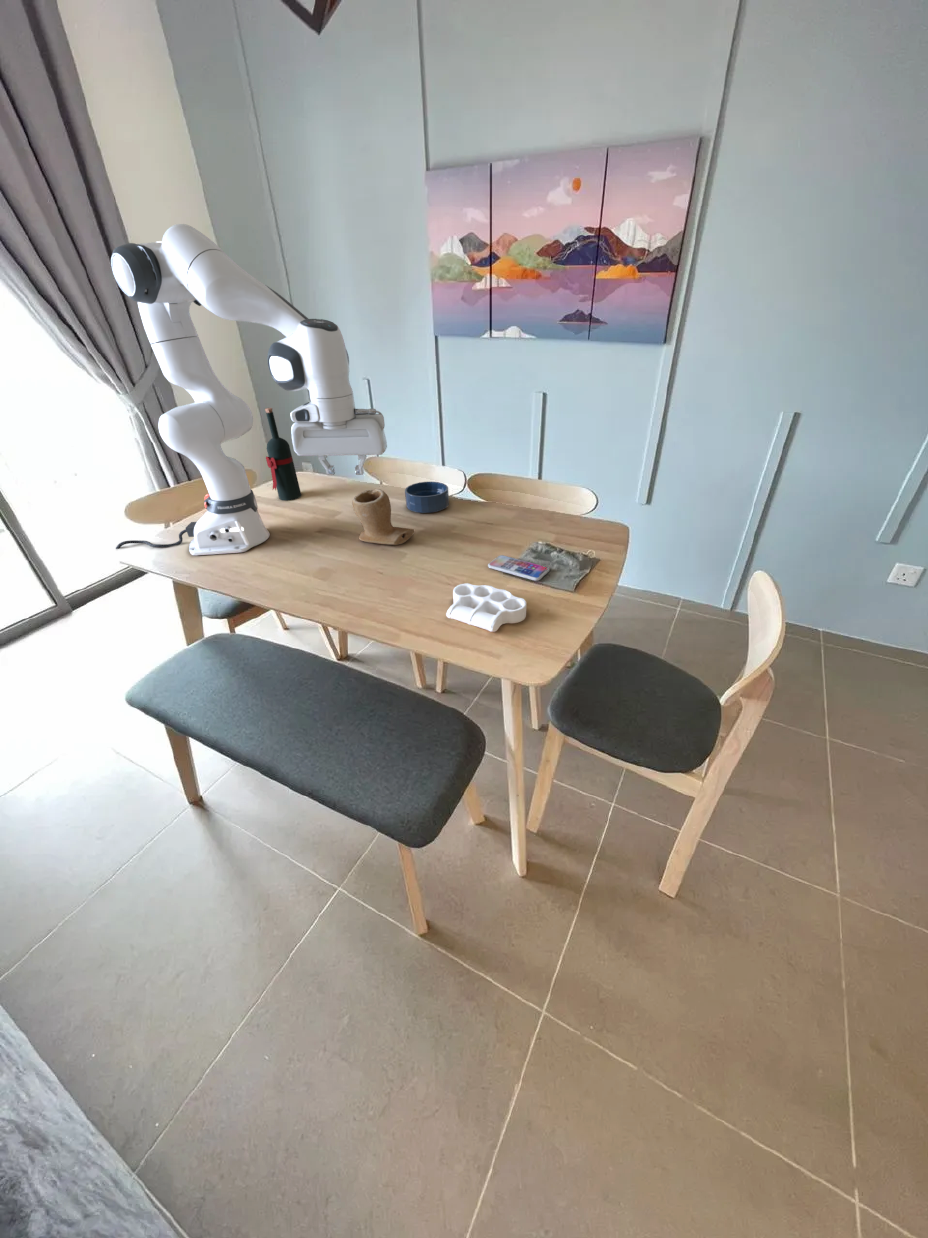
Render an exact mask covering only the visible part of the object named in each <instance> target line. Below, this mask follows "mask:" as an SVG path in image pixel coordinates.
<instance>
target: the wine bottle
mask: <svg viewBox="0 0 928 1238" xmlns="http://www.w3.org/2000/svg"><path fill="white" fill-rule="evenodd" d="M264 411H265V415H266V418H267V422H268V426H269V430H270V434H271V438H270V439H269V440H268V442H267V444H266V453H267V456H265V461H266V465H267V467H268V469H270V473H271V480H272V490H275V491H276V492H277V495H278V500H281V501H283V502H284V501H289V502H290V501H294V500H297V499H300V498H301V497H302V492H301V488H300V484H299V480H298V476H297V475H298V474H297V472H296V467H295V462H294V459H293V455H292V450H291V446H290V443H289V442H288V441H287V440H286V439H284V438H283V437H280V435H279V431H278V427H277V423H276V419H275V415H274V414H275V413H274V411H273V407H266V408H264Z"/></svg>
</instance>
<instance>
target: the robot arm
mask: <svg viewBox="0 0 928 1238" xmlns="http://www.w3.org/2000/svg"><path fill="white" fill-rule="evenodd" d="M110 266H111V270H112V274H113V276H114V279H115V281H116V283H117V285H118V287H119V288H120V290H121V291H122V292H123V293H124V294H125V295H126V296H127V298H129V299H130V300H131V301H133V302H136V303H137V307H138V312H139V315H140V319H141V322H142V325H143V329H144V332H145V334H146V337H147V339H148V341H149V344H150V346H151V349H152V351H153V354H154V356H155V358H156V360H157V363H158V366H159V367H160V370H161V372H162V375H163V376H164V378H165V379H166V380H167V381H168V383H170V384H173V385H174V386H176V387H180V388H182V389H184V390H185V391H186V392H187V393H188V394H189V395H190V396H191V398H192V399H193V401H194V402H192V403H191V402H190V403H187V404H183V405H178V406H175V407H174V408H172V409H170V410H168V411H166V412H164V413H162V414H161V415H160V416H159V418H158V424H157V425H158V426H157V427H158V433H159V435H160V437H161V439H162V440H163V442H164V443H165V444H166V445H167V447H169V448H170V449H171V450H173V451H175V452H176V453H178V454H181V455H183V456H185V457H186V458H187V459H188V460H190V461H191V462H192V464H193V465H194V466H195V467H196V468H197V470H198V471H199V473H200V475H201V477H202V479H203V482H204V484H205V486H206V487H205V488H206V490H207V492H208V493H206V494H205V496H204V498H203V499H204V501H203V503H204V504H203V505H204V509H206V511H205V512H204V513H203V515H202V516H201V517H199V519H198V520H196V521H190V523H189V524H188V525H187V526H185V529H183V530H181V531H180V532H179V534H178V541H176V542H174V543H167V544H165V543H159V544H158V543H152V542H150V541H148V540H132V539H131V540H124V541H121V542H119V543H118V544H117V545H116V546H115V550H118V549H121V547H122V546H124V545H128V544H146V545H147V546H149V547H153V548H170V547H174V546H179V545H181V544H182V543H183V535H184V534H186V533H187V536H188V537H189V538H193V539H192V540H191V541H190V543H189V545H188V551H189V554H191V555H192V556H209V555H210V556H211V555H222V554H223V555H224V554H238V553H245V552H247V551H249V550H250V549H251V548H253V547H256V546H258V545H260V544H262V543H264V542H266V541H267V540H268V539H269V538H270V532H269V530H268V528H266V525H265V524H264V521H263V519H262V518H261V515H260V512H259V506H258V501H257V499H256V495H255V493H254V491H253V489H252V488H251V486H250V482H249V478H248V475H247V472H246V468H245V466H244V464H243V463H242V462H240V461H239V460H238V459H236V458H234V457H231V456H227V455H226V454H225V452H224V450H223V448H222V445H221V444H224V443H227V442H230V441H233V440H236V439H239V438H241V437H242V436H244V435H245V434H247V433H248V432H250V431H251V430H252V428H253V426H254V415H253V412H252V410H251V408H250V406H249V405H248V404H247V402H246V401H245V400H243V399H242V398H241V397H238V396H237V395H235V394H234V393H232V392H231V391H230V390H228V389H227V387H225V385H224V384H223V383H222V382H221V380H220V379H219V378H218V376H217V375H216V373H215V372H214V370H213V368H212V365H211V364H210V362H209V359H208V356H207V354H206V352H205V349H204V347H203V344H202V342H201V339H200V337H199V334H198V331H197V329H196V326H195V325H194V322H193V320H192V317H191V312H190V308H191V305H192V303H194V304H195V305H197V306H199V307H201V306H202V307H203V308H205V309H206V310H207V311H208V312H210V313H212V314H213V315H215V316H216V317H218V318H220V319H222V320H225V321H232V322H233V321H234V322H244V323H253V324H259V325H263V326H267V327H270V328H273V329H275V330H276V331H278V332H280V333H281V334H282V335H283V336H284V338H282V339H280V340H277V341H275V342H273V343H271V344H270V346H269V348H268V351H267V356H266V361H267V368H268V371H269V374H270V376H271V378H272V380H273V381H274V382H275V383H276V384H277V386H278V387H280V388H281V389H283V390H284V391H288V392H298V391H303V390H308V392H309V399H310V401H307V402H305V403H304V404H302V405H300V406H297V407H296V408H294V409H293V410H291V412H290V419H291V421H292V422H293V423H292V425H291V428H290V433H291V443H292V447H293V448H292V449H293V451H294V452H295V454H296V455H297V456H299V457H317V458H318V462H319V463H320V464H321V466H323V467H324V469H325V473H326V475H327V476H335V474H336V470H335V465H334V464H333V465H332V464H330V462H329V461H328V460H327V458H328V456H357V459H358V461H359V464H356V465H355V467H354V471H355V475H357V476H363V475H364V474H365V469H364V465H365V462H366V459H367V457H368V456H381V455H383V454H385V452H386V450H387V448H388V442H387V437H386V432H385V430H384V429H385V417H384V415H383V413H382V412H381V411H379V410H377V409H376V408H356V403H355V397H354V391H353V387H352V385H351V383H350V382H351V381H350V357H349V353H348V349H347V348H346V343H345V339H344V337H343V334H342V332H341V329H340V327H339V325H338V324H336V323H335V322H334V321H330V320H327V319H323V318H309V317H307V316H306V315H305V314H304V313H302V312H301V311H300V310H299V309H298V308H297V307H295V306H294V305H293V304H292V303H291V302H289V300H287V299H286V298H285V297H283V295H281V294H280V293H278V292H277V291H275V290H274V289H273V288H272V287H270V286H268V285H267V284H264V283H263V282H261V281H260V280H259V279H257V278H256V277H254V276H253V275H251V274H250V273H249V272H247V271H246V270H245V269H243V268H242V267H241V266H240V265H238V263H236V262H235V261H234V260H233V259H232V258H231V257H230V256H229V255H228V254H227V253H226V252H225V251H224V250H223V249H222V248H221V247H220V246H219V245H218V244H216V243H215V242H214V241H213V240H211V239H210V238H209V237H208V236H206V235H205V234H204V233H202V232H201V231H199V230H198V229H197V228H195V227H193V226H191V225H189V224H185V223H177V224H176V223H175V224H173V225H170V227H168V228H167V229H166V230H165V232H164V233H163V236H162V238H161V240H159V241H155V242H152V241H151V242H142V243H134V242H129V243H125V244H121V245H118V246H116V247H115V248H114V249H113V251H112V253H111V257H110Z"/></svg>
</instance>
